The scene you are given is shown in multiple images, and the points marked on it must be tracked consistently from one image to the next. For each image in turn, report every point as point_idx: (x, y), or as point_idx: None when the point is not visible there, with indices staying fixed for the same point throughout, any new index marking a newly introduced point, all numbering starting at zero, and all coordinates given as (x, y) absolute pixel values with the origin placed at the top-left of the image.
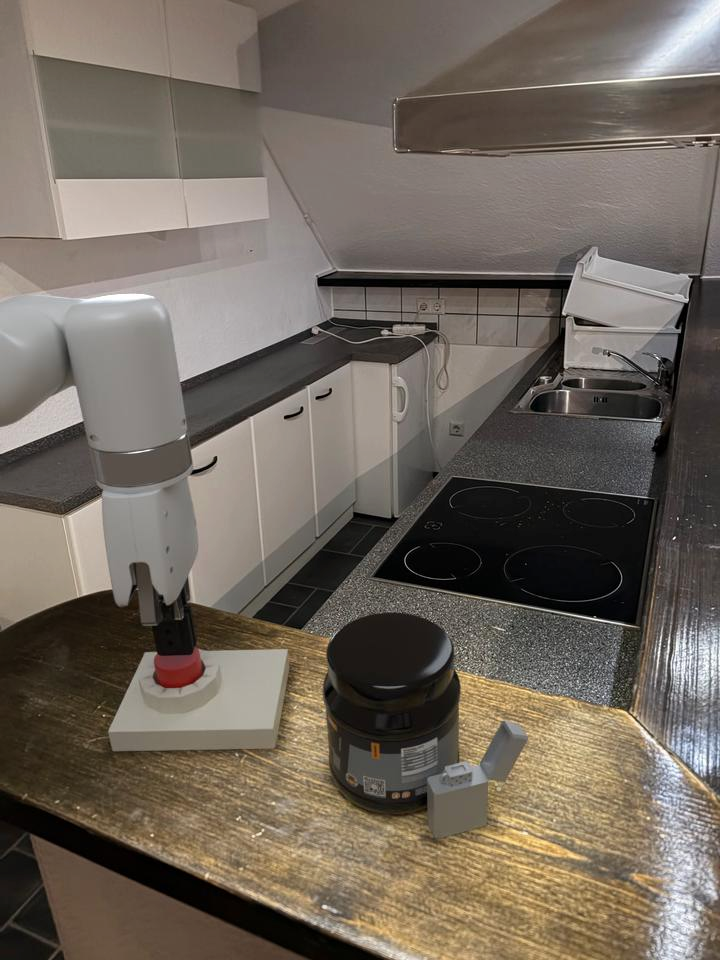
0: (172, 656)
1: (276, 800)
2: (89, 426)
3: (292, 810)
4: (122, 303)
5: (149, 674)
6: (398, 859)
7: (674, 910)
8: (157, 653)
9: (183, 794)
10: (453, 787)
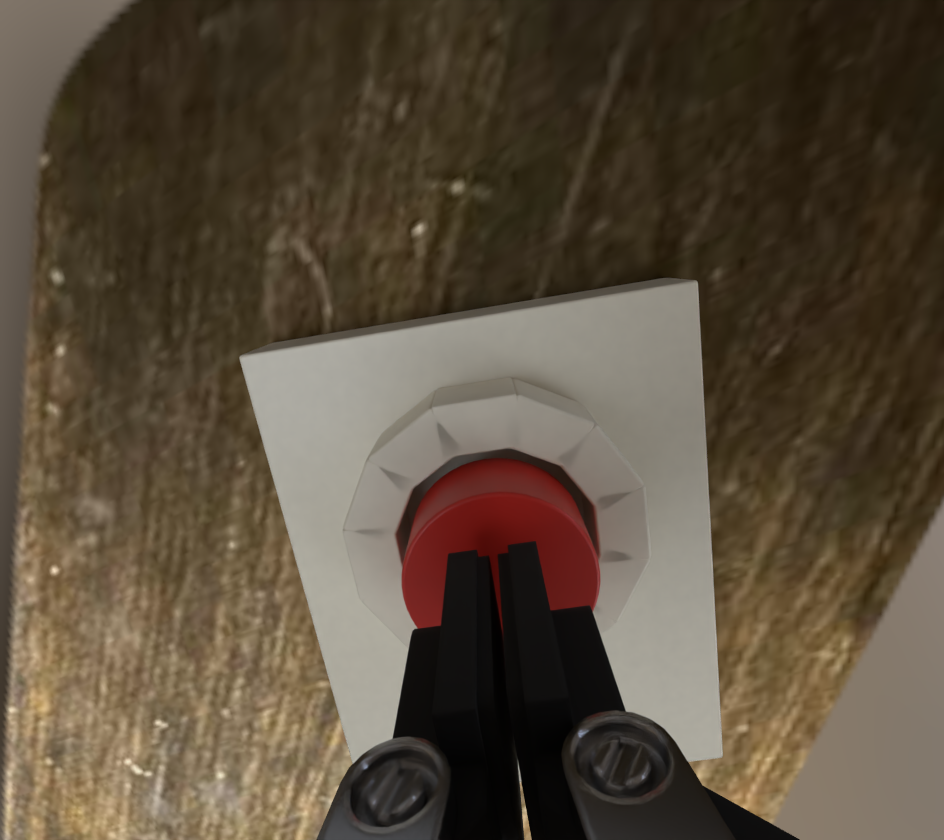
0: (497, 569)
1: (228, 778)
2: None
3: (212, 811)
4: None
5: (465, 439)
6: None
7: None
8: (449, 553)
9: (185, 592)
10: None
